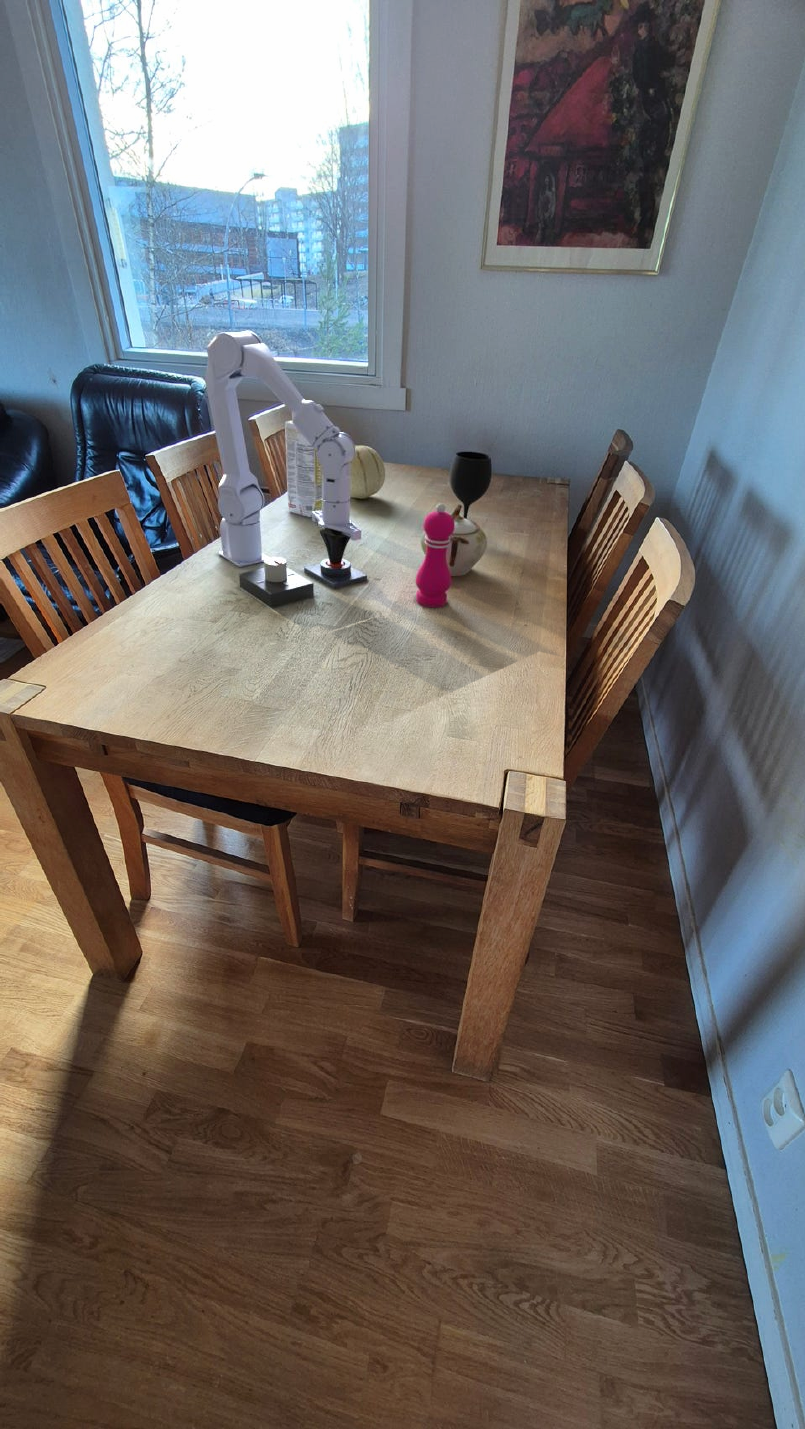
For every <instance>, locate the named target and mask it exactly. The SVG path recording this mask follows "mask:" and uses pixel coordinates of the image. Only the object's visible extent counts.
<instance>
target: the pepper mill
mask: <svg viewBox="0 0 805 1429" xmlns="http://www.w3.org/2000/svg"><path fill="white" fill-rule="evenodd" d="M446 508H447V507H446V505H445V504H444V503H438V504H437V505H436V507H435V510H434V511H431V512H430V513H428V514H427V515H426V516H425V518H424V521H423V532H424V531H425V532H426V534H427V535H426V536H425V544H426V556H425V555H424V559H423V561H422V563H421V565H420V567H419V569H418V571H417V573H416V576H415V585H416V587H417V588H418V590H417V591H416V599H415V600H416V602H417V603H418V604H419V605H421V606H424V607H427V608H440V607H443V606H445V605H446V603H447V598H448V593H447V591H449V589H450V587H451V585H452V576H450V572H449V568H448V565H447V561H446V551H447V547H449V546H450V540H451V539H450V537H449V536H450V535H451V534H452V533H453V531H454V527H455V524H454V520H453V517H452V516H451V514H450V513H449V512H447V511H446V510H447V509H446Z"/></svg>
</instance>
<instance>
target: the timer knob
mask: <svg viewBox="0 0 805 1429" xmlns="http://www.w3.org/2000/svg"><path fill="white" fill-rule="evenodd" d="M263 568H264V571H265V579H266V580H267V581H270V582H282V581H285V580H286V579H287V568H288V567H287V559H286V558H284V557H279V556H270V557H269V558H266V559H265V560H264V562H263Z"/></svg>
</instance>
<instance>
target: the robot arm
mask: <svg viewBox="0 0 805 1429" xmlns="http://www.w3.org/2000/svg"><path fill="white" fill-rule="evenodd" d="M206 353H207V363H206V370H205V375H204V382H205V387H206V388H205V389H206V392H207V398H208V403H209V407H210V413H211V418H212V424H213V428H214V432H215V438H216V443H217V448H218V454H219V458H220V463H221V464H220V465H221V469H222V474H223V475H222V477H221V479H220V482H219V484H218V487H217V491H218V496H219V497H218V501H217V508H218V511H219V514H220V515H221V517H222V518H221V521H220V523H219V531H220V532H219V533H220V541H221V542H220V543H221V551H218V555H219V556H221V557H222V558H224V559H226V560H228V561H229V562H231V563H232V564H233V565H235V566H237V567H239V568H241V567H246V566H251V565H254V564H260V563H264V560H265V559H266V558H270V557H269V556H268V555H266V554H264V553H263V548H262V533H261V511H262V510H263V509H264V507H265V502H266V500H265V495H264V493H263V491H262V489H261V487H260V485H259V481H258V478H257V477H256V475H254V474H253V473H252V472H251V469H250V464H249V458H248V453H247V447H246V442H245V436H244V432H243V431H244V430H243V429H244V428H243V424H242V418H241V412H240V406H239V401H238V395H237V387H238V386H239V384H240V383H241V381H242V380H243V379H244V377H247V378H248V377H249V378H252V379H258V380H259V381H262V383H263V384H264V385H265V386H266V387H267V388H268V389H269V390H270V391H271V392H272V393H273V394H274V395H275V397H277V398H278V400H279V401H280V402H281V403H282V404H283V405H284V406H285V407H286V409H288V410H289V411H290V413H291V421H292V422H293V424H294V425H295V426H296V428H297V429H298V430H299V431H300V432H301V434H302V435H303V436H304V437H305V438H306V439H307V441H308V442H309V443H310V444H311V445H312V446H313V448H314V449H315V450H316V451H317V452H316V456H317V460H318V462H319V463H320V465H321V467H322V511H314V512H312V517H311V521H312V522H314V523H316V522H317V525H318V527H320V528H321V529H319V535H320V537H321V539H322V541H323V543H324V546H325V549H326V552H327V556H328V558H329V560H330V563H332V564H334V565H335V564H339V563H341V561H342V559H344V558H343V557H344V555H345V554H344V553H345V550H346V547H347V545H348V544H349V542H350V540H351V541H359V540H362V529H361V528H359V527H357V525H356V524H354V523H353V521H351V496H350V479H351V477H350V467H351V463H349V462H350V461H351V460H352V459H353V457H354V455H355V445H356V444H355V442H354V441H353V440H352V437H351V436H350V435H349V434H348V433H346V432H341V429H340V428H339V426H335V425H334V423H333V422H332V421H331V420H330V419H329V417H327V415H326V414H325V412H324V410H325V408H324V407H323V406H322V405H321V404H320V403H318V404H317V403H316V402H315V401H314V400H306V399H305V398H304V397H303V396H302V394H301V393H300V391H299V390H298V389H297V388H296V387H295V385H294V384H293V382H292V381H291V379H289V377H288V376H287V374H286V373H285V372H284V370H283V369H282V368H281V366H280V365H279V363H278V362H277V361H276V359H275V358H274V357H273V354H272V353H271V350H270V348H269V346H267V345H266V344H265V343H263V341H262V339H261V338H260V337H259V336H258V335H257V334H256V333H255V332H253V331H251V330H244V331H239V332H238V331H237V332H219V333H217V334H216V335H215V336H214V337H213V338H212V339H211V340H210V342H209V343H208V344H207V346H206ZM354 444H355V445H354ZM348 463H349V464H348ZM346 464H347V465H346Z"/></svg>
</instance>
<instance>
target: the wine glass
mask: <svg viewBox="0 0 805 1429" xmlns="http://www.w3.org/2000/svg"><path fill="white" fill-rule="evenodd" d="M492 473H493V469H492V458H491V455H489V454H486V453H482V452H479V451H469V450H468V451H466V450H465V451H464V450H463V451H458V452H456V453H455V454H454V456H453V460H452V463H451V466H450V471H449V486H450V488H451V490H452V492H453V495H455V497H456V498H457V499H458V501H460V502H461V503H462V505H463V517H462V518H465V519H468V513H469V509H470V506H471V505H472V504H474V503H476V502H477V501H478V500H480V499H481V498H482V497H483V496H484V495H485V494H486V492H487V491H488V489H489V487H490V484H491V481H492Z"/></svg>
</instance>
